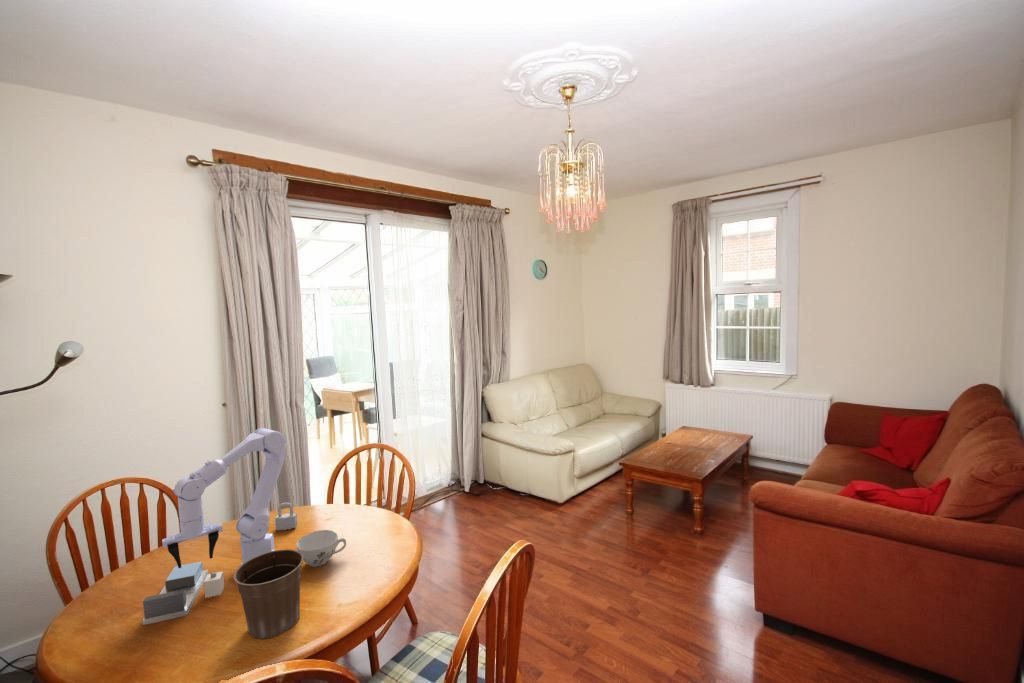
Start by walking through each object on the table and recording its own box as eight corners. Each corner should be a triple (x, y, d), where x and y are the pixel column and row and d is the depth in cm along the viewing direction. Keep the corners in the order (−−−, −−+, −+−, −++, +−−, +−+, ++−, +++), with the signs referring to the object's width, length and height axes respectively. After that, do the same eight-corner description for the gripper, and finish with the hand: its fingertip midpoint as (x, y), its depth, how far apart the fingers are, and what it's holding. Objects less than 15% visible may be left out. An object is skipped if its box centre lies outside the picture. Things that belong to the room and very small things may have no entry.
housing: (224, 587, 137) (222, 568, 137) (220, 594, 133) (219, 575, 133) (208, 590, 136) (207, 571, 135) (205, 598, 132) (203, 578, 132)
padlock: (298, 524, 176) (296, 499, 175) (294, 529, 172) (293, 504, 171) (278, 526, 175) (277, 501, 174) (275, 531, 171) (273, 505, 170)
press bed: (208, 573, 144) (206, 554, 144) (187, 615, 125) (185, 592, 124) (170, 581, 141) (169, 561, 140) (142, 625, 121) (140, 602, 121)
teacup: (294, 576, 141) (292, 552, 141) (300, 556, 153) (299, 533, 153) (345, 567, 146) (344, 543, 145) (348, 548, 158) (346, 525, 157)
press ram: (202, 569, 144) (202, 561, 143) (194, 584, 136) (193, 575, 136) (175, 575, 141) (175, 566, 141) (165, 590, 133) (165, 581, 133)
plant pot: (229, 652, 110) (224, 590, 109) (247, 610, 126) (243, 555, 125) (302, 637, 115) (297, 576, 114) (311, 598, 130) (307, 544, 129)
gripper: (219, 506, 142) (222, 547, 143) (160, 520, 133) (165, 565, 134) (221, 514, 136) (225, 557, 137) (160, 529, 127) (165, 575, 129)
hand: (195, 561), depth 135 cm, fingers open, 7 cm apart
